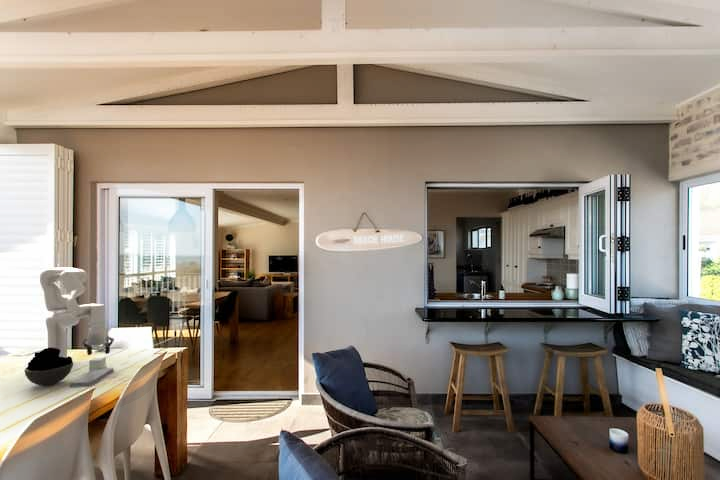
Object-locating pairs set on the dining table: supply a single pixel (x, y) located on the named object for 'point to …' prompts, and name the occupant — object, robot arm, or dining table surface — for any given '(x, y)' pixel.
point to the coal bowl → (48, 367)
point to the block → (97, 363)
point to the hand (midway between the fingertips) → (98, 354)
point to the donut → (99, 347)
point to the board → (91, 377)
